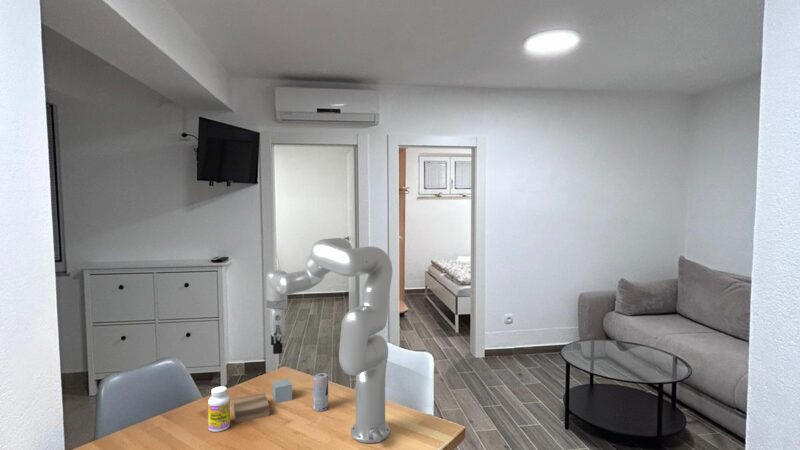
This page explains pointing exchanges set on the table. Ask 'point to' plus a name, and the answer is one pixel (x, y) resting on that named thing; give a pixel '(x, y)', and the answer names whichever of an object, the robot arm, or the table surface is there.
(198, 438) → the table surface
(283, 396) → the slate cube
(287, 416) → the table surface
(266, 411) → the walnut block
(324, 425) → the table surface
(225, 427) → the supplement bottle
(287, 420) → the table surface
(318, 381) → the energy drink
